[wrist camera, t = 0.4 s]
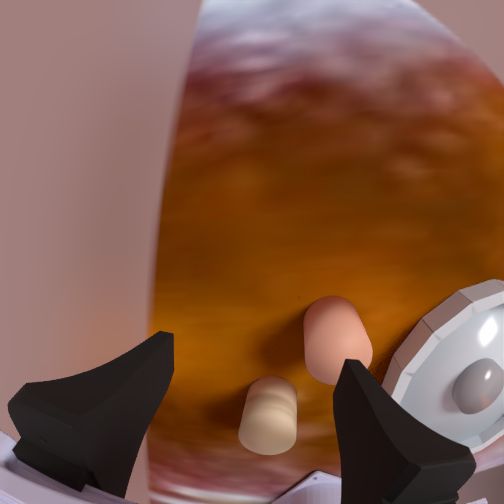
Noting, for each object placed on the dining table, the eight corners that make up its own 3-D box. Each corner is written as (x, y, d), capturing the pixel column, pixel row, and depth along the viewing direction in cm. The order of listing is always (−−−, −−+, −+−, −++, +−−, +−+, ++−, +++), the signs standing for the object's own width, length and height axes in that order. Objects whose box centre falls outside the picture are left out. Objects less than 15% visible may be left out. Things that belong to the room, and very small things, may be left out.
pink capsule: (336, 354, 23) (344, 393, 18) (292, 329, 23) (291, 367, 18) (368, 312, 22) (385, 346, 17) (323, 285, 22) (331, 315, 17)
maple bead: (279, 419, 25) (275, 461, 20) (238, 399, 25) (228, 440, 20) (306, 390, 24) (307, 431, 19) (263, 368, 24) (256, 408, 19)
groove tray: (456, 460, 24) (462, 474, 22) (337, 416, 24) (340, 435, 22) (561, 332, 20) (574, 342, 17) (472, 238, 20) (490, 245, 17)
